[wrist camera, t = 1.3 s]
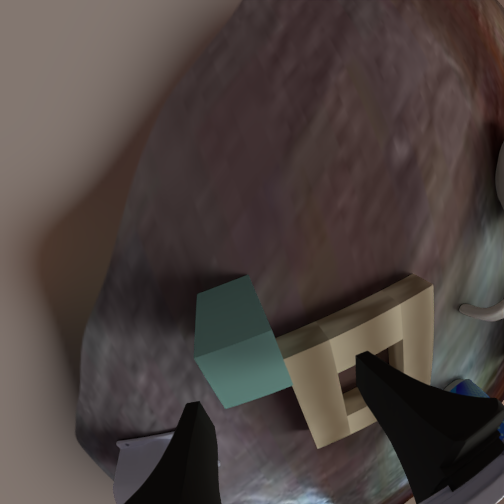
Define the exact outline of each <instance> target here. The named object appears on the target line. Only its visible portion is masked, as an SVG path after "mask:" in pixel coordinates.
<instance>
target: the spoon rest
mask: <svg viewBox="0 0 504 504" xmlns="http://www.w3.org/2000/svg"><path fill="white" fill-rule="evenodd" d="M495 185H496V192H497V196H498V199H499V201H500V202H501V205H502V207H503V210H504V142H503V144H502V146H501V149H500V152H499V157H498V163H497V167H496V175H495ZM459 311H460V312H461V313H462V314H464V315H467V316H469V317H473V318H477V319H480V320H484V321H497V320H500V319H503V318H504V299H503V300H502V301H501V302H499V303H498V304H496V305H494V306H492V307H489V308H480V307H476V306H473V305H469V304H463V305H461V306H460V308H459Z"/></svg>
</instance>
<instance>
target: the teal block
mask: <svg viewBox="0 0 504 504" xmlns="http://www.w3.org/2000/svg"><path fill="white" fill-rule="evenodd" d="M194 359H195V361H196V363H197V364H198V366H199V368H200V369H201V371H202V373H203V374H204V376H205V378H206V379H207V381H208V382H209V384H210V386H211V387H212V389H213V390H214V392H215V394H216V395H217V397H218V398H219V400H220V401H221V403H222V404H223V406H224V407H225V409H227V408H230V407H233V406H237V405H240V404H243V403H246V402H249V401H252V400H255V399H258V398H260V397H263V396H266V395H269V394H272V393H274V392H277V391H280V390H282V389H285V388H287V387H290V386H292V385H293V383H292V380H291V377H290V375H289V372H288V370H287V367H286V365H285V362H284V360H283V357H282V355H281V352H280V349H279V347H278V344H277V342H276V339H275V337H274V334H273V331H272V329H271V327H270V324H269V322H268V320H267V317H266V315H265V313H264V310H263V308H262V306H261V303H260V301H259V299H258V296H257V294H256V292H255V289H254V287H253V285H252V282H251V280H250V278H249V275H246V276H243V277H241V278H238V279H235V280H233V281H230V282H228V283H225V284H222V285H220V286H217V287H214V288H212V289H209V290H207V291H204V292H201V293H199V294H197V303H196V321H195V342H194Z"/></svg>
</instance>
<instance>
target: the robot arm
mask: <svg viewBox="0 0 504 504" xmlns="http://www.w3.org/2000/svg"><path fill="white" fill-rule="evenodd" d="M355 359H356V385H357V387H358V389H359V391H360V393H361V395H362V397H363V399H364V401H365V403H366V405H367V406H368V408H369V409H370V411H371V412H372V414H373V415H374V417H375V418H376V420H377V421H378V422H379V424H380V425H381V427H382V428H383V430H384V431H385V433H386V435H387V436H388V438H389V440H390V441H391V443H392V445H393V447H394V450H395V452H396V454H397V456H398V458H399V460H400V462H401V465H402V467H403V469H404V471H405V474H406V476H407V479H408V481H409V484H410V487H411V489H412V492H413V495H414V498H415V501H416V504H497V503H498V502H499V501H500V500H501V499H502V498H503V497H504V439H503V440H501V439H500V438H499V437H500V435H501V433H500V432H499V431H498V430H497V429H498V428H499V426H500V425H501V423H502V422H503V420H504V405H503V404H502V403H501V402H500V401H499V400H498V399H496V398H487V397H474V396H467V395H461V394H457V393H453V392H449V391H445V390H442V389H438V388H436V387H433V386H430V385H428V384H425V383H423V382H421V381H419V380H416V379H414V378H412V377H410V376H408V375H406V374H405V373H403V372H401V371H399V370H398V369H396V368H394V367H392V366H391V365H389V364H388V363H386V362H384V361H383V360H381V359H380V358H378V357H377V356H375V355H374V354H372V353H371V352H369V351H365V352H363V353H360V354H358V355H355ZM116 445H117V446H118V447H119V448H120V453H119V458H118V463H117V468H116V473H115V479H114V484H113V485H114V486H113V493H114V498H115V501H116V503H117V504H221V499H220V493H219V481H218V467H219V466H220V462H219V461H218V447H217V439H216V432H215V426H214V425H213V423H212V421H211V420H210V418H209V416H208V415H207V413H206V411H205V410H204V408H203V406H202V405H201V403H200V401H197V402H191V403H187V404H186V405H185V408H184V410H183V413H182V415H181V418H180V420H179V423H178V425H177V427H176V430H175V431H174V432H169V433H164V434H159V435H154V436H148V437H142V438H136V439H129V440H122V441H117V443H116Z"/></svg>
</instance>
